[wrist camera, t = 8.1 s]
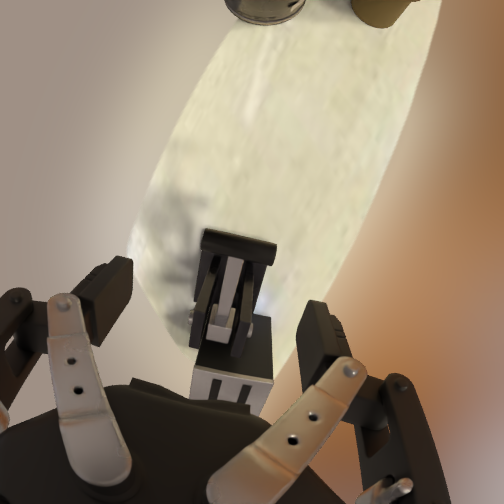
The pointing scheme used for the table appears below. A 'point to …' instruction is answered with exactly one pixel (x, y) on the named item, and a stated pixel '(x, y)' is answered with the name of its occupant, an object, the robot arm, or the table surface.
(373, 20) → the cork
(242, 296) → the switch bracket
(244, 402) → the toaster body
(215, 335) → the switch lever
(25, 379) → the robot arm
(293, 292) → the table surface
